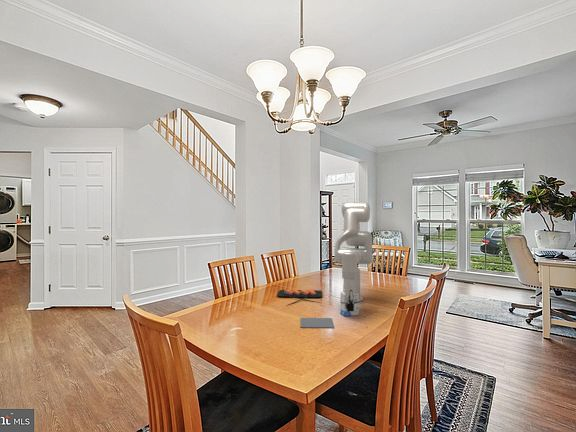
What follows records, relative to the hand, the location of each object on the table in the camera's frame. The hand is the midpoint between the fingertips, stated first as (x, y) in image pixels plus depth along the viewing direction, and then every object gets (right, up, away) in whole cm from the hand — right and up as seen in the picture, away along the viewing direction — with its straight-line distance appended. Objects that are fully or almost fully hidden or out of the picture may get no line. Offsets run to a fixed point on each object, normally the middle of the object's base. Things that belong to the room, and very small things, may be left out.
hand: (349, 308), depth 162 cm
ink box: (0, -3, 0) cm, 3 cm away
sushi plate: (-26, -3, +29) cm, 39 cm away
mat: (-19, -4, -12) cm, 22 cm away
